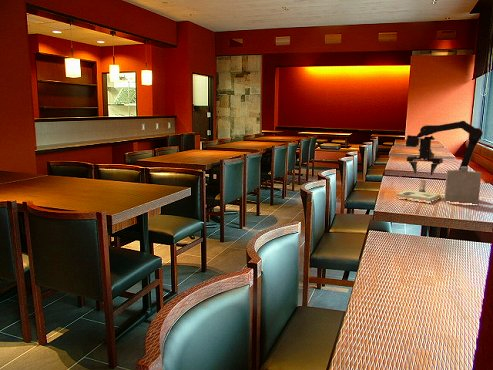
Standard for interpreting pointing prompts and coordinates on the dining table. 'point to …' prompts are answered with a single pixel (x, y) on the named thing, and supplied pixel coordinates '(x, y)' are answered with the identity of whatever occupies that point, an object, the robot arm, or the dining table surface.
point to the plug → (422, 185)
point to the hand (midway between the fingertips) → (423, 174)
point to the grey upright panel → (462, 186)
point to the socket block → (419, 195)
